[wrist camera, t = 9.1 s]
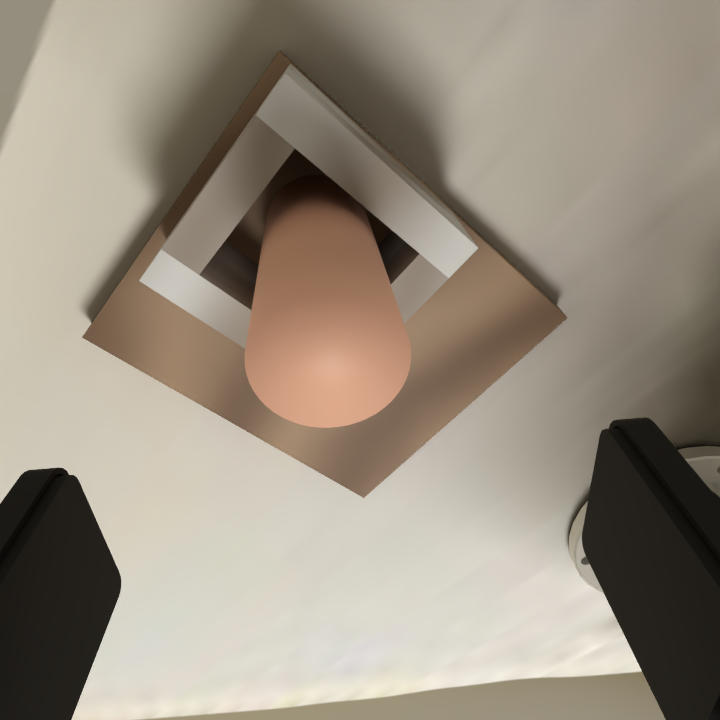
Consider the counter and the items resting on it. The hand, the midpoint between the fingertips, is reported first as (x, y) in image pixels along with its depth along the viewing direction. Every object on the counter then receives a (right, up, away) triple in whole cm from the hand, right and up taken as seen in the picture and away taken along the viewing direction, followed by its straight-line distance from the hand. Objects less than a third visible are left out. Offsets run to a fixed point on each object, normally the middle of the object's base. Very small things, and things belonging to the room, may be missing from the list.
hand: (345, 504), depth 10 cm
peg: (-1, +8, +12) cm, 14 cm away
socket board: (-1, +5, +15) cm, 16 cm away
